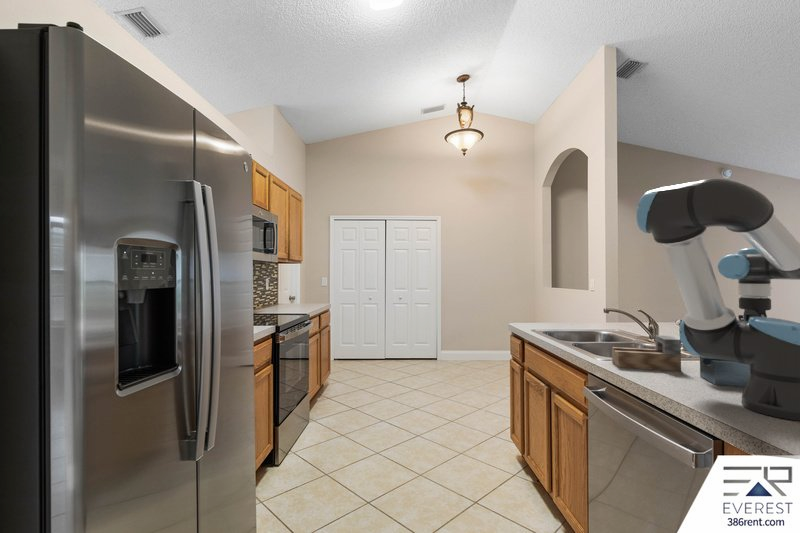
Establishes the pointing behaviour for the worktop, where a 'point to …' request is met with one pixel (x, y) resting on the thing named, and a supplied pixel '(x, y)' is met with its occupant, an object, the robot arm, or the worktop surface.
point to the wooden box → (651, 355)
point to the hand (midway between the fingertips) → (756, 370)
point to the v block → (724, 372)
